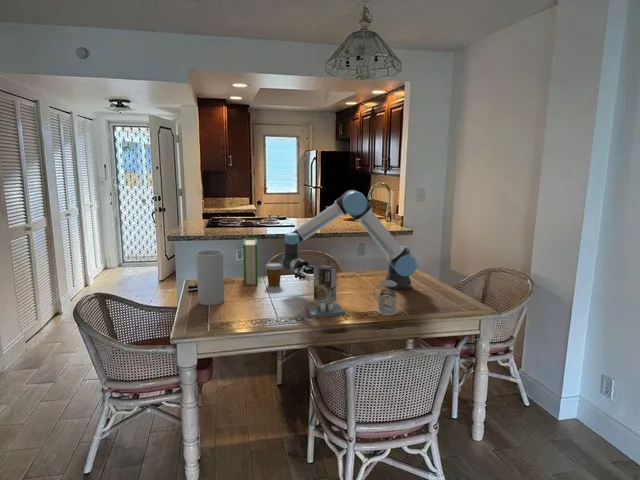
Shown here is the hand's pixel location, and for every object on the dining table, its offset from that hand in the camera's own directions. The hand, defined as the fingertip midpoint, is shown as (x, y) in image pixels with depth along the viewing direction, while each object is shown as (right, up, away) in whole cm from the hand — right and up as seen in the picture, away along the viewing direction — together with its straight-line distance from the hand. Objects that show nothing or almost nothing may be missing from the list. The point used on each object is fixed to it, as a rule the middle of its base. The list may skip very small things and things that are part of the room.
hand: (322, 276), depth 197 cm
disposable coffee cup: (-27, -9, +43) cm, 52 cm away
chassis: (+1, -17, +1) cm, 17 cm away
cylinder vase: (-55, -14, +13) cm, 58 cm away
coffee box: (+1, -11, 0) cm, 11 cm away
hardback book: (-41, -7, +49) cm, 65 cm away
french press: (+30, -17, +2) cm, 34 cm away
